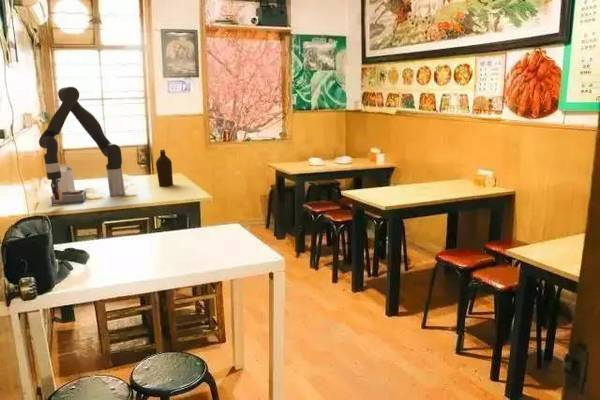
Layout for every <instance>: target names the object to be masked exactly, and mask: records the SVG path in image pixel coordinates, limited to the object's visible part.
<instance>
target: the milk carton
mask: <svg viewBox="0 0 600 400" xmlns="http://www.w3.org/2000/svg"><path fill="white" fill-rule="evenodd" d="M59 166H60V171H61V178H60V179H58V180H60V186H61V190H62V192H64V191H74V190H76V188H75V187H76V186H75V182H74V181H75V180H74V173H73V169H72V168H71V167H70V166H69V165H68V164H59Z"/></svg>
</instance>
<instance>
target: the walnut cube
mask: <svg viewBox="0 0 600 400" xmlns="http://www.w3.org/2000/svg"><path fill="white" fill-rule="evenodd" d="M80 190H81V189H75V190H74V191H71V192H70V193H71V195H78V194H81V191H80Z"/></svg>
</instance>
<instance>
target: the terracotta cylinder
mask: <svg viewBox="0 0 600 400" xmlns="http://www.w3.org/2000/svg"><path fill="white" fill-rule="evenodd" d="M54 191H56V190H54ZM58 194H59V200H55V196H54V194H53V193H52V195H53V199H54V201H62V200H63V196H62V190H61V188H59V190H58Z"/></svg>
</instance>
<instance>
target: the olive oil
mask: <svg viewBox="0 0 600 400" xmlns="http://www.w3.org/2000/svg"><path fill="white" fill-rule="evenodd" d="M159 151H160V152H159V156H158V158H157V159H156V162H155V166H156V167H155V168H156V175H157V180H158V186H159V187H160V188H166V187H172V186H173V185H174V182H173V180H174V179H173V163H172V160H171V158H169V157H168V156H167V155H166V150H165V149H160V150H159Z"/></svg>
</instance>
